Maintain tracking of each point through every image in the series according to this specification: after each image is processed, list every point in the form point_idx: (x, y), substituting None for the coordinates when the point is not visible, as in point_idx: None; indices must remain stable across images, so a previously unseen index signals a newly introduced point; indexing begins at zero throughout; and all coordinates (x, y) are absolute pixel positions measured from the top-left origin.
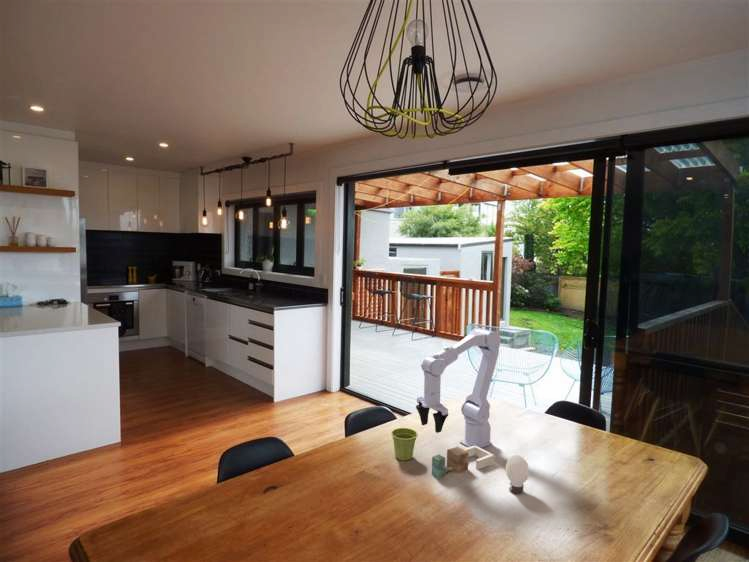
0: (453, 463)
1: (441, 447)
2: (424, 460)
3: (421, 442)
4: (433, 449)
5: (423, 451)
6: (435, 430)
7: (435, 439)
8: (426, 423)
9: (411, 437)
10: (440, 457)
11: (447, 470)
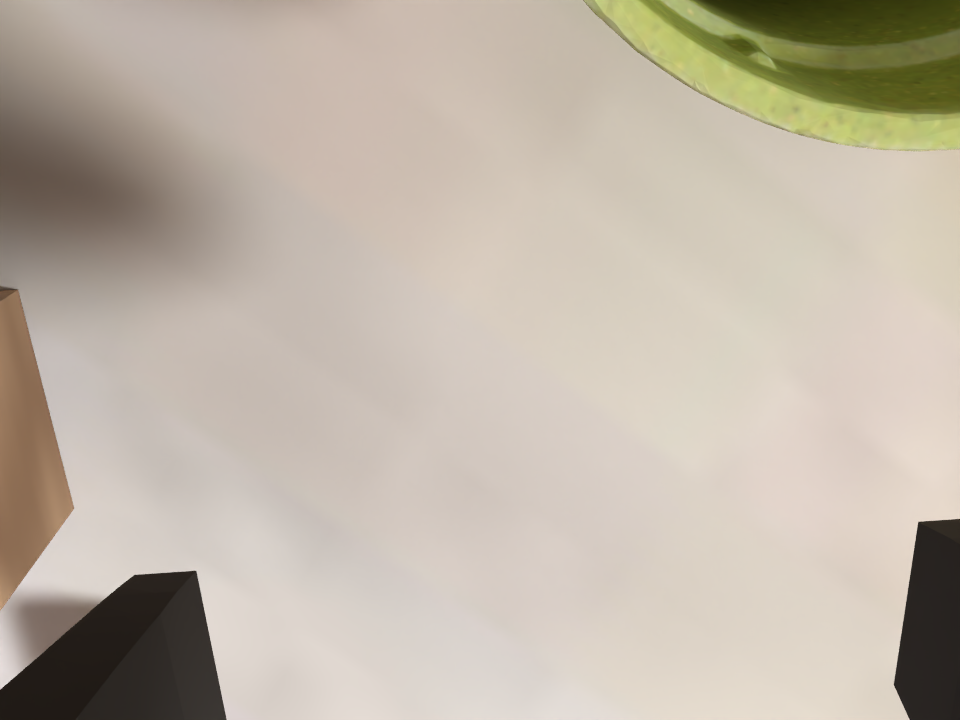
0: None
1: (620, 603)
2: (386, 87)
3: (947, 445)
4: (637, 466)
5: (675, 282)
6: (163, 597)
7: (878, 675)
8: (911, 683)
9: (890, 27)
10: None
11: None
